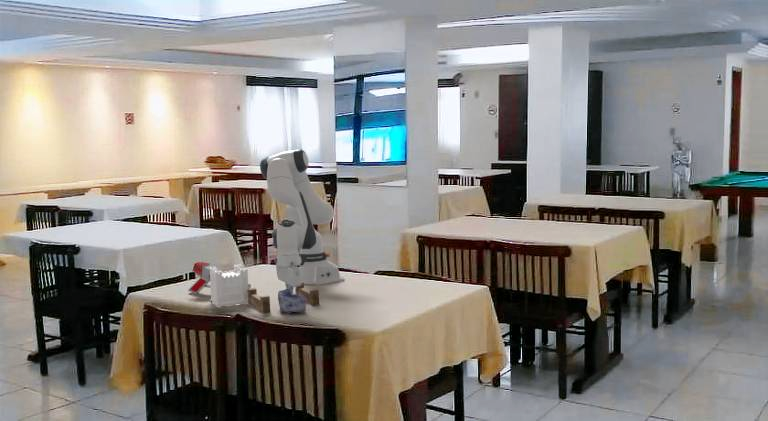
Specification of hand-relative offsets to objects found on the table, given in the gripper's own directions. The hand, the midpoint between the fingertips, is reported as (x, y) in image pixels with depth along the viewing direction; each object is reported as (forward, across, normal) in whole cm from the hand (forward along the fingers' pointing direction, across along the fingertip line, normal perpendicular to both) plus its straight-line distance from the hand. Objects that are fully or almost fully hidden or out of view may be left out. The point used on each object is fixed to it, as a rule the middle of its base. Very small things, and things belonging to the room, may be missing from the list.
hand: (290, 293), depth 321 cm
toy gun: (+7, +46, +18) cm, 50 cm away
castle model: (+6, +26, +18) cm, 33 cm away
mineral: (+6, -6, +2) cm, 9 cm away
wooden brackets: (+6, +9, 0) cm, 11 cm away
